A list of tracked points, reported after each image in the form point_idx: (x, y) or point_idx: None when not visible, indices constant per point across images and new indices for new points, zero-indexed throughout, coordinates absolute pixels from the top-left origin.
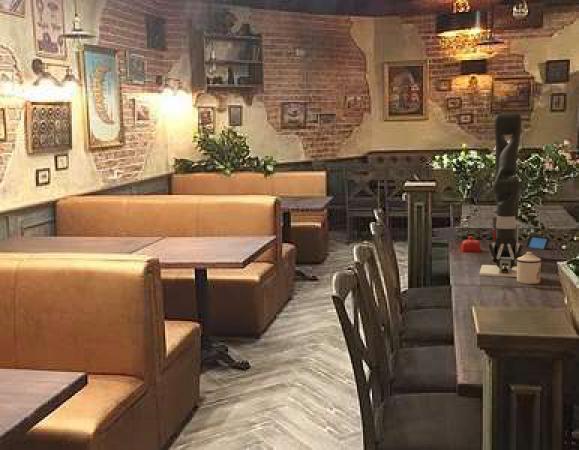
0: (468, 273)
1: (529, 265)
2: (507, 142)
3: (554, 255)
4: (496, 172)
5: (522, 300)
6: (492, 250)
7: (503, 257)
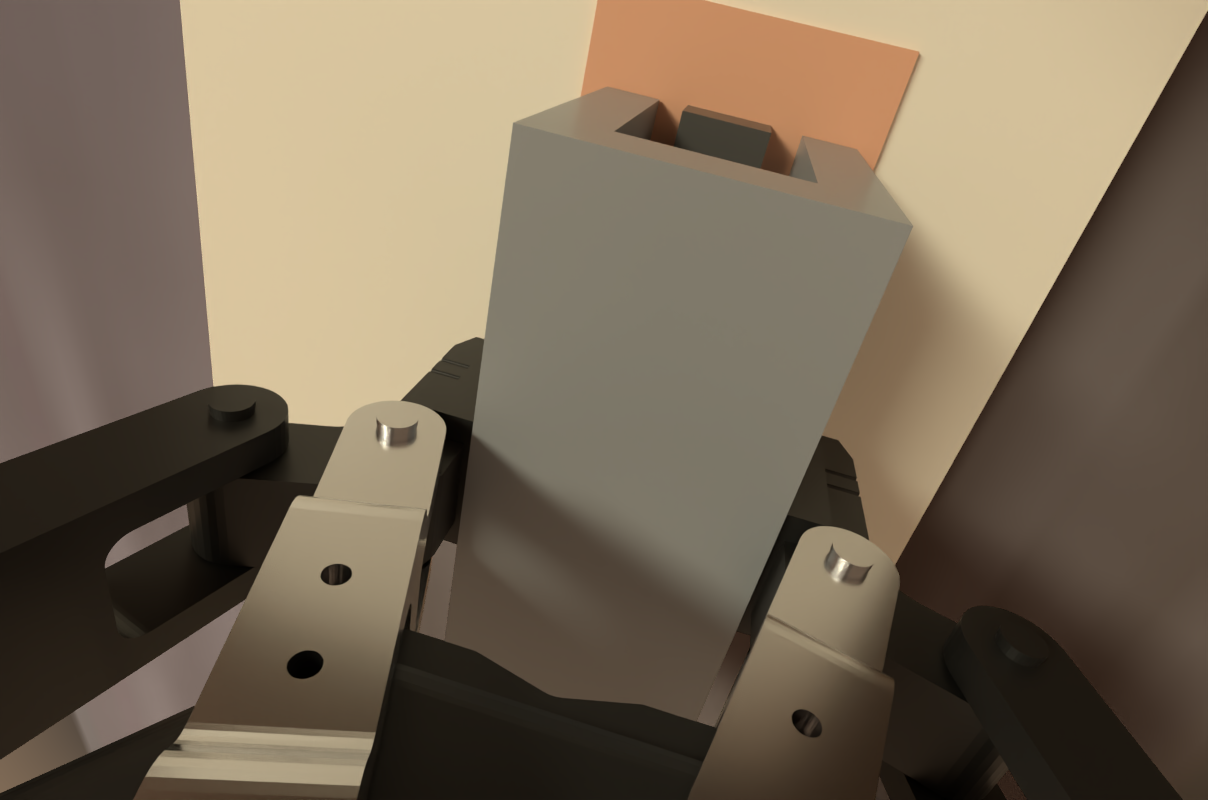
0: (70, 282)
1: None
2: None
3: None
4: None
5: None
6: (58, 691)
7: (601, 257)
